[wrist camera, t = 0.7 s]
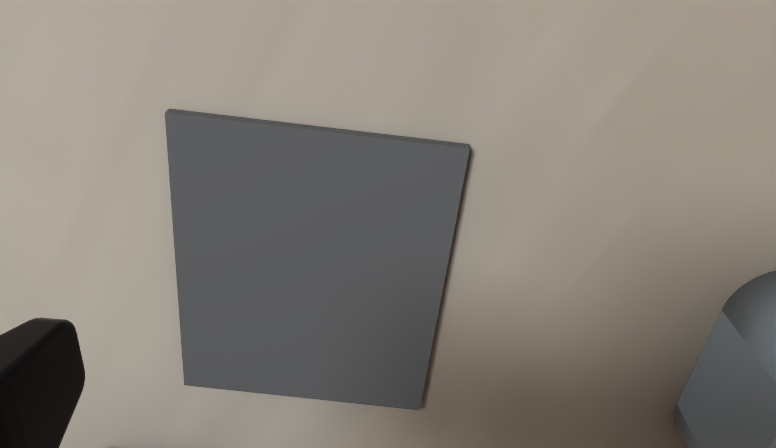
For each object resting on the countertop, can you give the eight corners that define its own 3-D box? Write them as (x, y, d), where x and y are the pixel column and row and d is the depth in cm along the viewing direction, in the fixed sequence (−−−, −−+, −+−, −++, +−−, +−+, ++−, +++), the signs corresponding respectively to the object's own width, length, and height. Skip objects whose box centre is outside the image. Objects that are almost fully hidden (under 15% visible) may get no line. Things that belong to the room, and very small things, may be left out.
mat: (419, 403, 26) (419, 410, 26) (187, 378, 26) (184, 385, 25) (469, 144, 20) (469, 148, 20) (169, 108, 20) (164, 112, 20)
